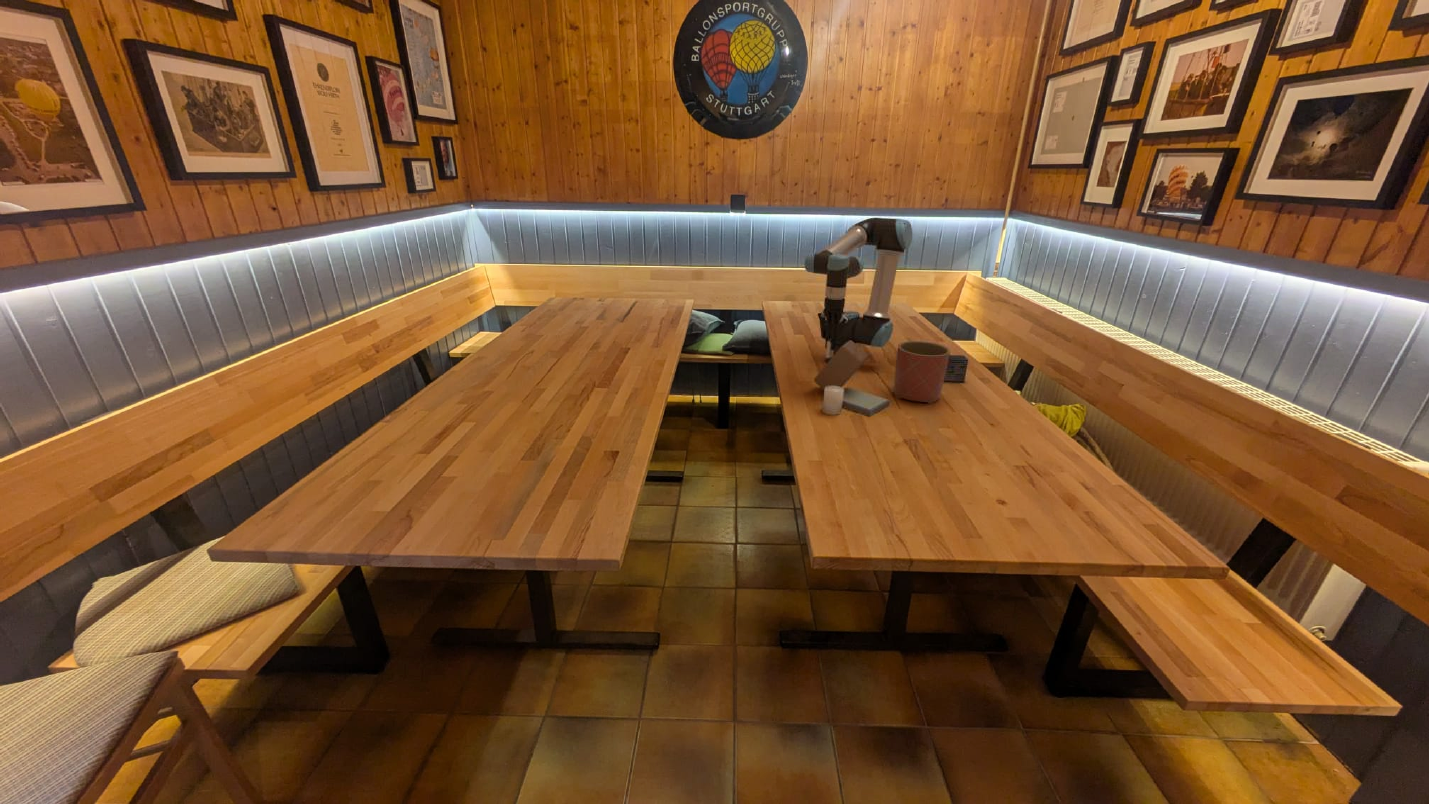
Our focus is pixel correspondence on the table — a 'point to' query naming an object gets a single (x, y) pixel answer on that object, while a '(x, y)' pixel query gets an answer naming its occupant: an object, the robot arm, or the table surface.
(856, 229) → the robot arm
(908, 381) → the planter
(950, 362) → the small box
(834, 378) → the wooden block
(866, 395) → the grey rectangular slab
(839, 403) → the white rounded cylinder
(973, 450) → the table surface
